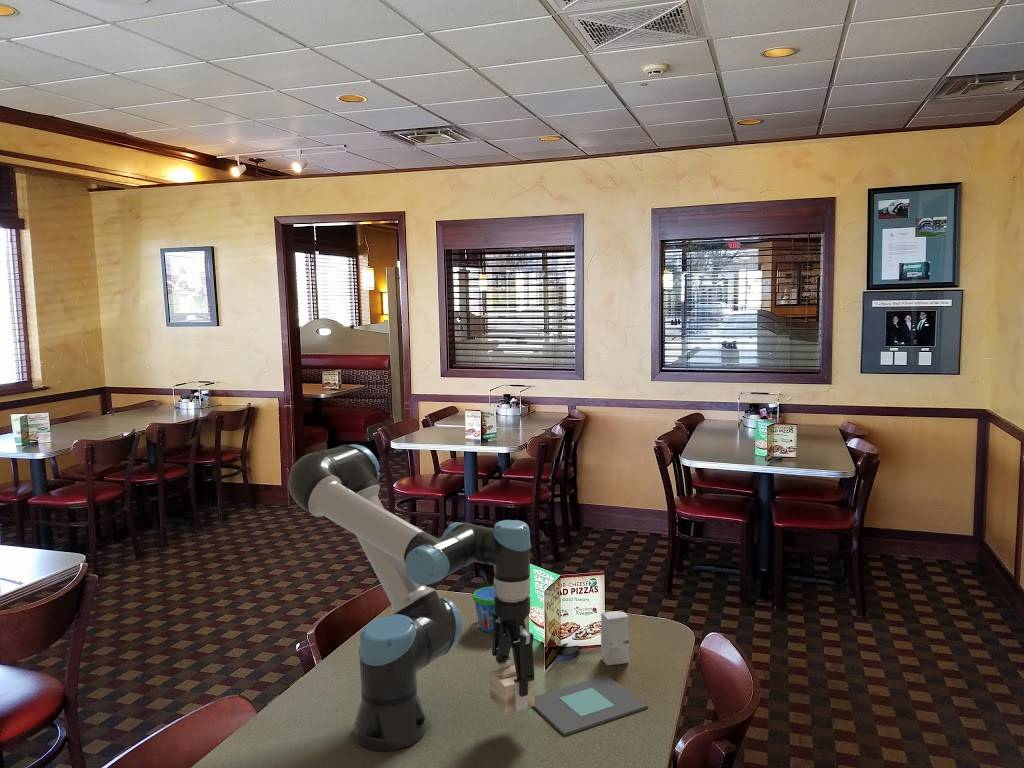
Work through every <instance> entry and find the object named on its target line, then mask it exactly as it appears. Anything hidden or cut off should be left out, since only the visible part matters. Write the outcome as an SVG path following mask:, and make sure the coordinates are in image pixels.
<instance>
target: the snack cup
mask: <svg viewBox="0 0 1024 768" xmlns="http://www.w3.org/2000/svg"><path fill="white" fill-rule="evenodd" d="M494 597H495V595H494V586H485V587H481V588H478V589H476V590H475V591H474V592H473V594H472V598H473V601H474V604H475V610H476V616H477V621H478V625H479V628H480V629H481V630H482V631H483V632H484V633H493V613H495V612H494Z"/></svg>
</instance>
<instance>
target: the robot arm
mask: <svg viewBox="0 0 1024 768" xmlns="http://www.w3.org/2000/svg"><path fill="white" fill-rule="evenodd" d="M379 471H380V464H379V461H378V459H377V457H376V456H375V455H374V453H373V452H372V450H370V449H369V448H368V447H365V446H364V445H359V444H353V443H352V444H343V445H339V446H337V447H333V448H328V449H325V450H320V451H315V452H311V453H310V452H309V453H307V454H305V455H303V456H302V457H300V458H298V460H297V461H296V462H295V463H294V464H293V466H292V467H291V469H290V471H289V474H288V480H287V483H288V484H287V485H288V490H289V494H290V495H291V498H292V499H293V501H294V502H295V503H296V504H297V505H298V506H299V507H300V508H301V509H302V510H304V511H306V512H307V513H308V514H310V515H312V516H314V517H316V518H320V517H323V516H324V517H326V519H329V520H330V521H331V522H334V523H335V524H337V525H339V527H341V528H344V529H345V530H346V531H349V532H351V533H352V534H354V535H355V537H356V538H357V540H358V542H359V544H360V546H361V548H362V551H363V552H364V554H365V556H366V558H367V559H368V561H369V563H370V565H371V568H372V569H373V570H374V573H375V574H376V576H377V578H378V580H379V583H380V584H381V586H382V589H383V590H384V592H385V594H386V597H388V598H387V599H388V600H389V602H390V603H391V610H390V611H391V612H390V614H387V616H379V617H377V618H376V619H373V620H371V621H370V622H368V624H366V626H364V627H363V629H362V631H361V632H360V635H359V646H358V656H359V671H360V673H359V674H360V689H361V690H360V691H361V700H360V703H359V707H358V709H357V714H356V716H355V721H354V725H353V727H354V729H353V730H354V738H355V741H356V742H357V743H358V745H360V746H361V747H364V748H365V749H368V750H371V751H372V750H373V751H376V752H387V751H388V752H390V751H396V750H397V751H398V750H401V749H404V748H407V747H409V746H412V745H413V744H415V743H417V742H419V741H420V740H421V738H422V737H423V736H424V735H425V733H426V731H427V717H426V713H425V710H424V707H423V704H422V702H421V700H420V697H419V695H418V683H417V682H418V681H417V680H418V679H417V678H418V677H417V676H418V675H417V673H418V672H419V671H421V670H422V669H424V668H425V667H427V666H429V665H430V664H431V663H433V662H434V661H436V660H437V659H439V658H440V657H442V656H443V657H444V655H446V654H448V653H449V652H450V650H451V649H453V648H454V647H455V646H456V645H457V644H458V642H460V639H461V636H462V630H463V620H462V615H461V613H460V610H459V609H458V607H457V606H456V604H454V602H453V601H452V600H449V599H448V598H446V597H441V596H439V594H438V592H437V590H436V589H435V588H433V587H429V586H428V585H431V584H435V583H437V582H439V581H441V580H443V579H445V578H446V577H448V576H450V575H451V574H453V573H455V572H457V571H459V570H460V569H463V568H464V567H467V566H468V565H471V564H472V563H479V564H484V565H489V566H493V573H494V575H493V587H494V595H495V597H494V612H495V613H493V632H492V641H491V642H492V644H491V655H492V656H493V657H495V661H496V663H497V670H498V669H503V668H506V667H510V666H511V662H510V660H511V659H512V657H513V662H514V665H515V669H516V676H517V679H515V680H514V682H515V710H516V711H515V712H519V711H523V710H525V709H529V708H528V682H529V681H533V680H534V678H535V667H534V666H535V665H534V663H535V662H534V649H533V648H534V647H533V645H534V644H533V643H534V633H533V632H527V631H526V630H527V627H526V624H525V620H526V619H527V617H528V616H529V615H530V613H531V596H530V595H531V580H532V578H531V547H532V543H531V534H530V527H529V525H528V524H527V523H526V522H524V521H522V520H520V519H519V520H518V519H514V520H512V519H504V520H499V521H498V522H496V523H495V524H494V525H493V528H492V527H487V526H483V525H477V524H472V523H471V522H470V523H468V522H460V521H459V522H456V521H455V522H452V523H449V525H448V527H447V528H446V529H445V530H444V532H443V534H442V536H440V537H435V536H433V535H431V534H430V533H428V532H426V531H424V530H422V529H420V528H419V527H417V526H415V525H413V524H412V523H410V522H408V521H406V520H405V519H403V518H401V517H399V516H397V515H396V514H394V513H392V512H390V511H388V510H387V509H385V507H384V505H383V504H382V502H381V500H380V498H379V496H378V495H379V493H380V488H381V486H380V484H379V478H380V474H381V473H380V472H379ZM511 650H512V651H511ZM510 652H512V657H511V655H510Z"/></svg>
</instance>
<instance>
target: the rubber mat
mask: <svg viewBox="0 0 1024 768" xmlns="http://www.w3.org/2000/svg"><path fill="white" fill-rule="evenodd" d="M531 708H533V709H535V711H537V713H538V714H540V715H541V716H542V717H543V718H544V719H545V720H546V721H548V722H549V724H551V725H552V726H553V727H554V728H555V729H556V730H557V731H558V733H560V734H562V735H563V737H565V736H568V735H571V734H575V733H578V732H581V731H583V730H587V729H590V728H592V727H595V726H598V725H601V724H604V723H608V722H610V721H613V720H616V719H620V718H623V717H626V716H628V715H631V714H634V713H637V712H641V711H643V710H646V709H648V708H649V705H648V704H647V703H645V702H644V701H643V700H641V699H640V698H638V697H637V696H636V695H635V694H633V693H631V692H630V691H629V690H627V689H626V688H624V687H623V686H622V685H620V683H618V682H617V681H616V680H614V679H613V678H611V677H610V676H608V675H607V674H605V675H601V676H598V677H595V678H592V679H588V680H585V681H582V682H578V683H575V684H572V685H568V686H565V687H561V688H559V689H555V690H554V689H553V690H552V691H548V692H545V693H542V694H538V695H535V706H532V707H531Z"/></svg>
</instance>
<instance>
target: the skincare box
mask: <svg viewBox="0 0 1024 768" xmlns="http://www.w3.org/2000/svg"><path fill="white" fill-rule="evenodd" d="M600 615H601V619H600V620H601V623H600V643H601V644H600V658H601V660H602V661H603V662H604V664H605V666H614V665H621V664H623V665H624V664H628V663H629V661H630V660H629V657H630V656H629V655H630V652H629V651H630V641H629V639H630V617H629V615H628V614H627V613H626V612H625V611H624V610H615V611H613V610H612V611H607V612H601V613H600Z"/></svg>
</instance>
